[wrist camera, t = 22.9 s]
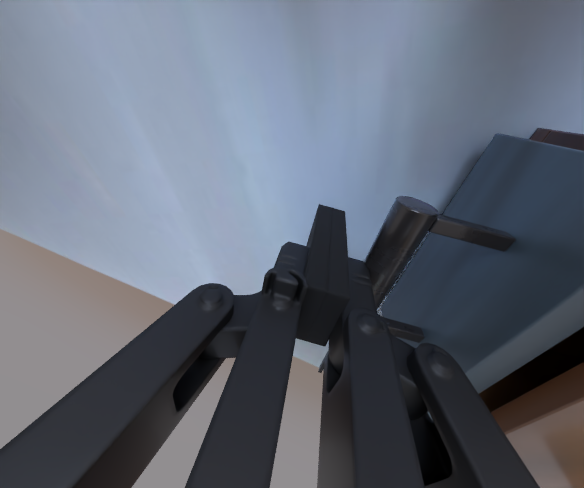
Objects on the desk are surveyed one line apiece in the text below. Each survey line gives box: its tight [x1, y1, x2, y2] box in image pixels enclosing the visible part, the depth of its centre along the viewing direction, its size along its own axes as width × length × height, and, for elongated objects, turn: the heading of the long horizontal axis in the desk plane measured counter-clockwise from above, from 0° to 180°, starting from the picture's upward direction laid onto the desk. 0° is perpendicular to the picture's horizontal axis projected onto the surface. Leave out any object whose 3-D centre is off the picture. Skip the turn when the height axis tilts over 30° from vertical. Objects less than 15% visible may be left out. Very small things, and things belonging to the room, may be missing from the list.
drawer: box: [364, 133, 584, 420], centre depth 10 cm, size 20×12×7 cm, turn 78°
